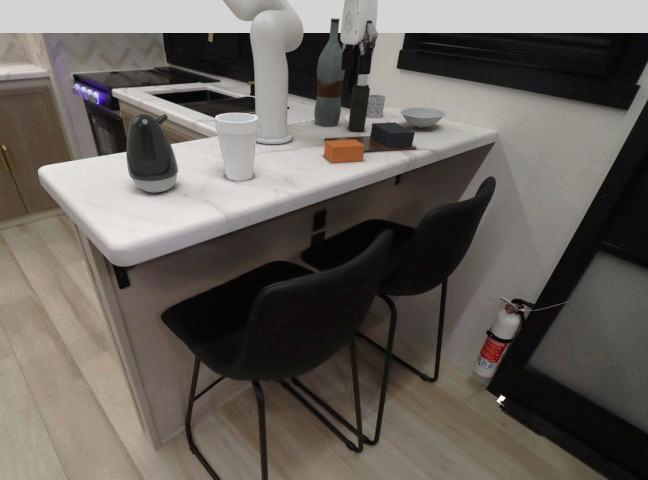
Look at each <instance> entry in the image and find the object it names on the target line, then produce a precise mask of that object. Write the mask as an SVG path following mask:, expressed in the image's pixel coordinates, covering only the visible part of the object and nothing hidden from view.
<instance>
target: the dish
mask: <svg viewBox="0 0 648 480" xmlns="http://www.w3.org/2000/svg"><path fill="white" fill-rule="evenodd" d="M400 114H401V115H402V117H403V118H404V121H406V122H407V123H408V124H409V125H411V126H414V127H417V129H423V128H425V127H431V126H434V125H435V124H437V123H439V121H440V120H442V119H443V118H444V117H446V116H447V112H446V111H444V110H441V109H438V108H437V109H436V108H432V107H407V108H404V109H401V110H400Z"/></svg>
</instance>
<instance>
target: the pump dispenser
mask: <svg viewBox="0 0 648 480" xmlns="http://www.w3.org/2000/svg"><path fill="white" fill-rule="evenodd" d="M168 118H169V117H168V115H167V114H166V113H164V114H162V115H160V116H158V117H157V118H155V117H154V116H153V115H152V114H149V113H146V112H142V113H141V112H140V113H138V114H135V115H134V116H133V118H132V119H131V121H130V123H129V126H128V130H127V136H126V150H125V151H126V154H125V155H126V167H127V173H128V176H129V177H130V178H131V179H132V181H133V183H134V185H135V186H137V187H138V188H139V189H140V190H142V191H143V192H146V193H152V194H159V193H163V192H166V191H168V190H170V189H172V187H174V185H175V183H176V181H177V177H178V173H179V166H178V162H177V159H176V155H175V151H174V149H173V147H172V144H171V142H170V140H169V138H168V136H167V133H166V132H165V129H163V126H162V125H163V124H164V123H165V122H166V121H167V120H168Z"/></svg>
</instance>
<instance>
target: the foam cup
mask: <svg viewBox="0 0 648 480" xmlns="http://www.w3.org/2000/svg"><path fill="white" fill-rule="evenodd" d="M214 123H215V125H214V127H215V131H216V134H217V138H218V143H219V148H220V152H221V153H220V154H221V157H222V162H223V168H224V172H225V173H224V174H225V175H226V178H227V179H228V180H230V181H235V182H236V181H237V182H242V181H243V182H245V181H248V180H251V179H253V176H254V167H255V157H256V155H255V154H256V145H257V142H256V136H257V131H258V117H257V116H256V114H253V113H247V112H225V113H220V114H217V115H215V117H214Z"/></svg>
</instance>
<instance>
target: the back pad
mask: <svg viewBox="0 0 648 480" xmlns="http://www.w3.org/2000/svg"><path fill="white" fill-rule="evenodd" d="M415 134H416V132H415V131H413V130H411V129H409V128H407V127H406V126H403V125H401V124H400V123H397V122H372V123H371V129H370V135H369V136H370V137H371V138H373V139H375V140H376V141H378V142H379V143H381V144H383V145H384V146H386V147H387V148H393V147H410V146H412V145H413V142H414V138H415Z"/></svg>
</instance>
